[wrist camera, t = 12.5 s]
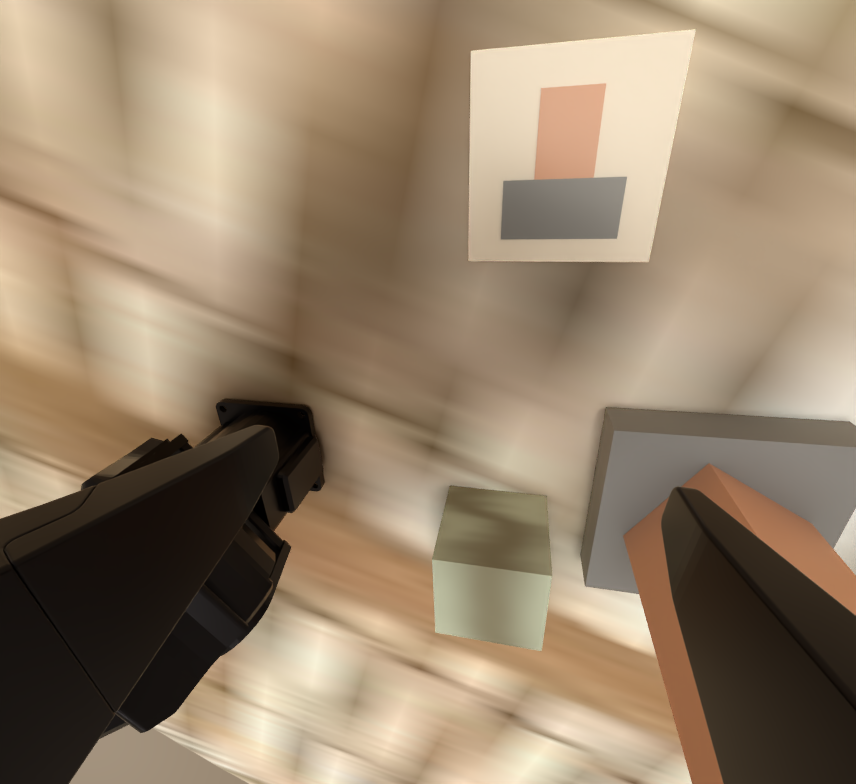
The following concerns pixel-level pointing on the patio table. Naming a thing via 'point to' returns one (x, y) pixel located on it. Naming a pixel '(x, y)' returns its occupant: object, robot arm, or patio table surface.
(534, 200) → the card
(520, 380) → the patio table surface
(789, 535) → the terracotta block
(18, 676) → the robot arm
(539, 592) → the sage cube
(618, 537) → the slate base block
